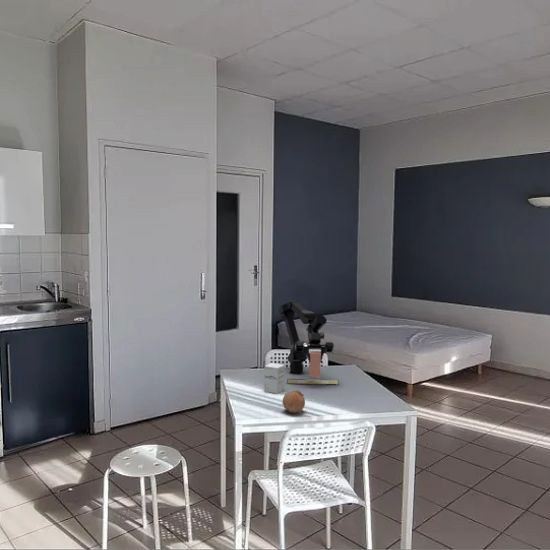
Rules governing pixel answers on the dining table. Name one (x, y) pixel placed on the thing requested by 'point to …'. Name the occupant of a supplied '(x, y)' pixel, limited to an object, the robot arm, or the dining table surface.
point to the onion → (294, 401)
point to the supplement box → (274, 378)
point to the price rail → (312, 381)
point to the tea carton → (314, 364)
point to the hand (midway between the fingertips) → (315, 361)
